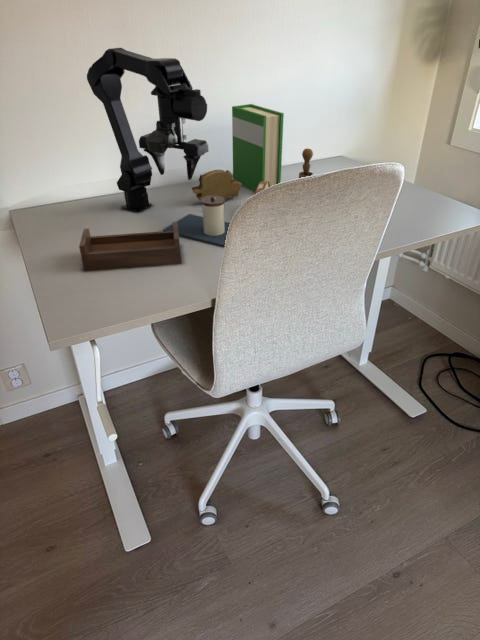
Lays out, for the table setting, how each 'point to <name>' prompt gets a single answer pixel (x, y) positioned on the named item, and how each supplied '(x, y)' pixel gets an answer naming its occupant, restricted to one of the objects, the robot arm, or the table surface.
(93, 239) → the brown wooden tray
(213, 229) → the canister
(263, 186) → the tin
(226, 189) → the wooden carving
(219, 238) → the mat
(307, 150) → the brown wooden pawn
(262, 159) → the hardback book
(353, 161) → the table surface
